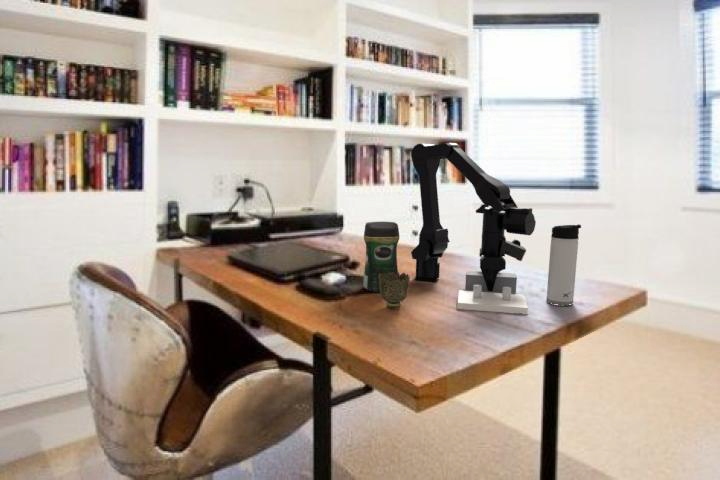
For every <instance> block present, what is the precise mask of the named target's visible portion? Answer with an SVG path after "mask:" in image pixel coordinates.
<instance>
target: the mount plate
mask: <svg viewBox="0 0 720 480" xmlns="http://www.w3.org/2000/svg"><path fill="white" fill-rule="evenodd" d="M481 291H482V286H481V285H473V291H465V290H461V289H459V290H458V297H457V306H456V307H457V310H468V311H481V312H493V313H494V312H495V313H507V314H519V313H523V314H522V315H529V314H528V313H529V307H528V304H527V301H526V299H525V296H524V294H519V293H516V294H511V287H503V292H502V293H492V292H481Z"/></svg>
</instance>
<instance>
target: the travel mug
mask: <svg viewBox="0 0 720 480" xmlns="http://www.w3.org/2000/svg"><path fill="white" fill-rule="evenodd" d="M580 229H582V225H581V224H578V223H577V224H566V225H565V224H564V225H555V226H553V227H551V236H550V245H549V246H550V249H549V251H550V252H549V260H548V261H549V262H548V272H547V273H548V275H547V290H546V303H548V302H549V303H552V304H558V305H569V304H572V303H573V304H574V296H575V287H576V286H575V283H576V275H577V274H576V272H577V262H578V261H577V260H578V251H579V250H578V249H579V237H580V236H579V234H580V232H579V231H580ZM549 303H548V304H549ZM552 304H551V305H552ZM573 304H572V305H573Z"/></svg>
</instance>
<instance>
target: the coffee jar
mask: <svg viewBox="0 0 720 480" xmlns="http://www.w3.org/2000/svg"><path fill="white" fill-rule="evenodd" d="M363 240H364V242H365V243H364V244H365V263H364V264H365V265H364V273H363V285H364V286H363V285H362V286H363V288H364V287H365V288H366V289H367V290H366V291H368V290H369V291H368V292H371V291H372V292H373V293H374V292H375V293H380V287H379V277H378V275H379V274H382V275H383V274H384V273H385V274H386V275H387V274H388V272H390V273H392V272H394V273H395V276H396V274H397V272H399V269H398V268H399V267H398V258H397V256H398V255H397V253H398V252H397V251H398V250H397V249H398V243H399V240H400V231H399V224H398V223H396V222H395V221H367V222H366V223H365V226H364V233H363ZM372 292H371V293H372Z"/></svg>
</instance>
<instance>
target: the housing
mask: <svg viewBox="0 0 720 480" xmlns="http://www.w3.org/2000/svg"><path fill="white" fill-rule="evenodd" d="M517 279H518V277H517V274H516V273H512V272H511V273H510V272H499V273H498V274H497V277H496V281H495V284H494V287H493V291H488V289H487V286H486V283H485V280H484V277H483V274H482V271H481V270H466V271H465V287H464V289H465V290H464V291H473V285H481V286H482V291H481V292H492V293H502V292H503V287H511V294H517V283H518V281H517Z"/></svg>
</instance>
